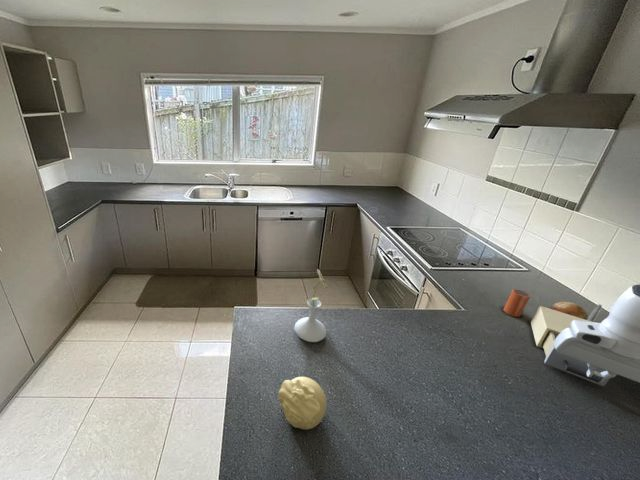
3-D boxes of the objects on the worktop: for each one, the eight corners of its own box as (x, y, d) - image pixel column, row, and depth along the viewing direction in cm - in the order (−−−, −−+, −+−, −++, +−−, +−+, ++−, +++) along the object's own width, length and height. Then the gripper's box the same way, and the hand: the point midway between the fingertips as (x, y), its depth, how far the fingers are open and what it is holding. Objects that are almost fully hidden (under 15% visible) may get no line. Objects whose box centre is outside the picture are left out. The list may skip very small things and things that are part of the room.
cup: (519, 311, 119) (529, 292, 115) (521, 318, 115) (531, 298, 111) (502, 306, 122) (511, 287, 118) (503, 313, 118) (513, 293, 114)
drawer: (608, 397, 82) (621, 380, 80) (546, 372, 90) (556, 356, 87) (589, 356, 96) (600, 341, 94) (537, 337, 104) (545, 323, 101)
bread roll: (577, 323, 118) (582, 305, 118) (591, 329, 109) (597, 309, 109) (546, 314, 123) (551, 297, 123) (557, 318, 114) (562, 300, 114)
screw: (585, 328, 111) (596, 337, 107) (571, 325, 112) (581, 334, 107) (602, 301, 106) (614, 309, 102) (587, 299, 107) (598, 307, 102)
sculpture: (270, 413, 75) (273, 385, 71) (297, 385, 83) (301, 359, 79) (305, 448, 67) (310, 419, 63) (331, 414, 75) (337, 386, 71)
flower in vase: (323, 349, 96) (334, 288, 86) (291, 339, 99) (298, 280, 90) (327, 323, 107) (337, 268, 98) (298, 316, 111) (304, 261, 101)
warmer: (595, 368, 93) (608, 348, 90) (536, 346, 101) (546, 327, 98) (582, 340, 105) (593, 322, 101) (530, 322, 113) (539, 305, 109)
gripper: (677, 353, 71) (646, 391, 76) (564, 317, 82) (544, 352, 87) (691, 370, 66) (657, 409, 71) (570, 329, 77) (547, 366, 82)
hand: (594, 377), depth 79 cm, fingers closed
